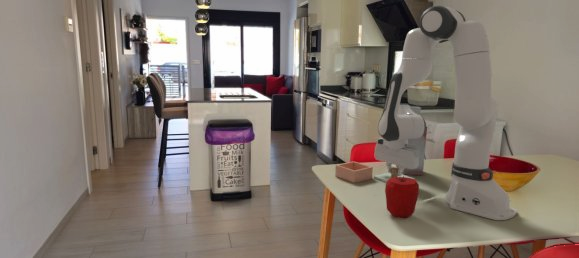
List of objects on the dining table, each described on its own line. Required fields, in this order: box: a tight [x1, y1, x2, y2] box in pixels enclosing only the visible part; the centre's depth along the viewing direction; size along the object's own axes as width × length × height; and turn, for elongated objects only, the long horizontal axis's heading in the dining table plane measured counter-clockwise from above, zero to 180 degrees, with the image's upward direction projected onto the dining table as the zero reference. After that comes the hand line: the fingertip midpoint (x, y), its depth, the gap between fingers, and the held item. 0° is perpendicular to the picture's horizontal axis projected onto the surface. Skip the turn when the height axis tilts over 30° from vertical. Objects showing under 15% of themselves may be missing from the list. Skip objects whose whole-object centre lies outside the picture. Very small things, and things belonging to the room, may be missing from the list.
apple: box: [384, 176, 420, 219], centre depth 122 cm, size 11×10×14 cm
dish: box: [334, 161, 374, 184], centre depth 161 cm, size 11×11×6 cm
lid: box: [373, 166, 416, 183], centre depth 158 cm, size 12×12×5 cm
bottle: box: [395, 105, 428, 176], centre depth 170 cm, size 14×10×30 cm
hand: (394, 174), depth 158 cm, fingers closed on lid, 3 cm apart
